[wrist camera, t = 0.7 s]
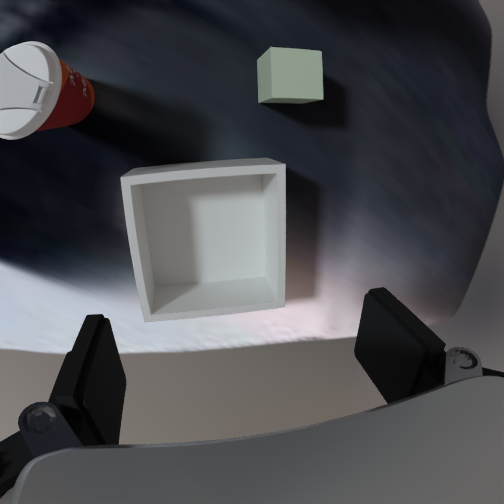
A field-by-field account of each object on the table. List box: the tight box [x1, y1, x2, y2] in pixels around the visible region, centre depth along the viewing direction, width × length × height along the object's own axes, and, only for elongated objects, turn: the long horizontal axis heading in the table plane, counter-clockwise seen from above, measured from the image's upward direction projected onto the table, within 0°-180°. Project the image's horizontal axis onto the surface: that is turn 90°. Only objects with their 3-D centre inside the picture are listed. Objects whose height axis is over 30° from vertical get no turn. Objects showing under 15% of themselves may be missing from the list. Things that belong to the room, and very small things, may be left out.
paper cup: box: [0, 41, 95, 139], centre depth 22 cm, size 8×8×14 cm
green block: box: [257, 47, 323, 104], centre depth 29 cm, size 5×5×6 cm
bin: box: [121, 158, 286, 322], centre depth 33 cm, size 15×15×7 cm
